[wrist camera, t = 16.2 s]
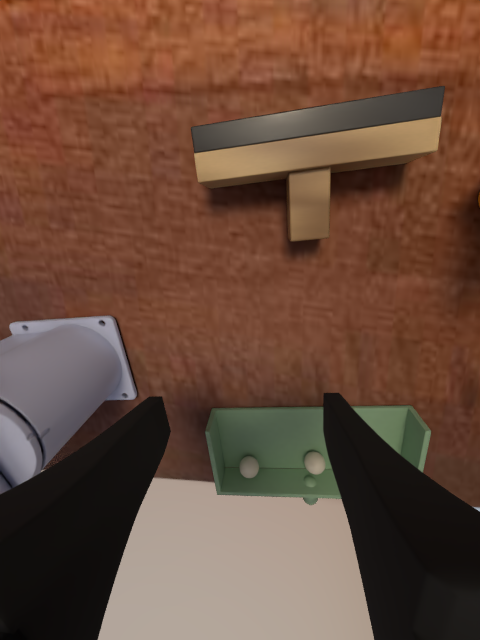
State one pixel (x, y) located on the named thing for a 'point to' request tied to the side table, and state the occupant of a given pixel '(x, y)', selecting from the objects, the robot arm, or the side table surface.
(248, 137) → the brush
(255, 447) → the dustpan
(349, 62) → the side table surface
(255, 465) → the crumb
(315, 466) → the crumb
